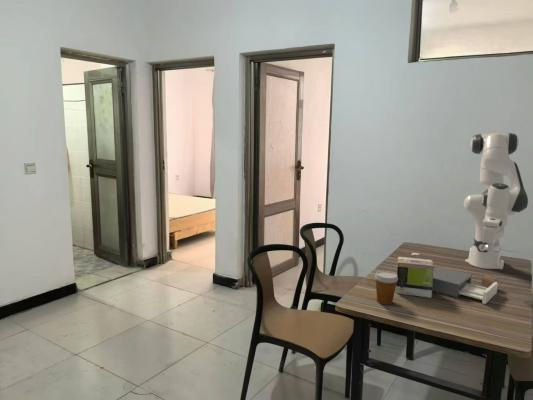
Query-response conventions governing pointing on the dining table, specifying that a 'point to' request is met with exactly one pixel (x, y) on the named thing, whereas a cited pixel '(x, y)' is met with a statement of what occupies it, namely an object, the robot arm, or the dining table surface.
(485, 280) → the wooden block
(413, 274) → the tea box
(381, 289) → the disposable coffee cup
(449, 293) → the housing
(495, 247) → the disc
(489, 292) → the cream drawer
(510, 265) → the dining table surface
